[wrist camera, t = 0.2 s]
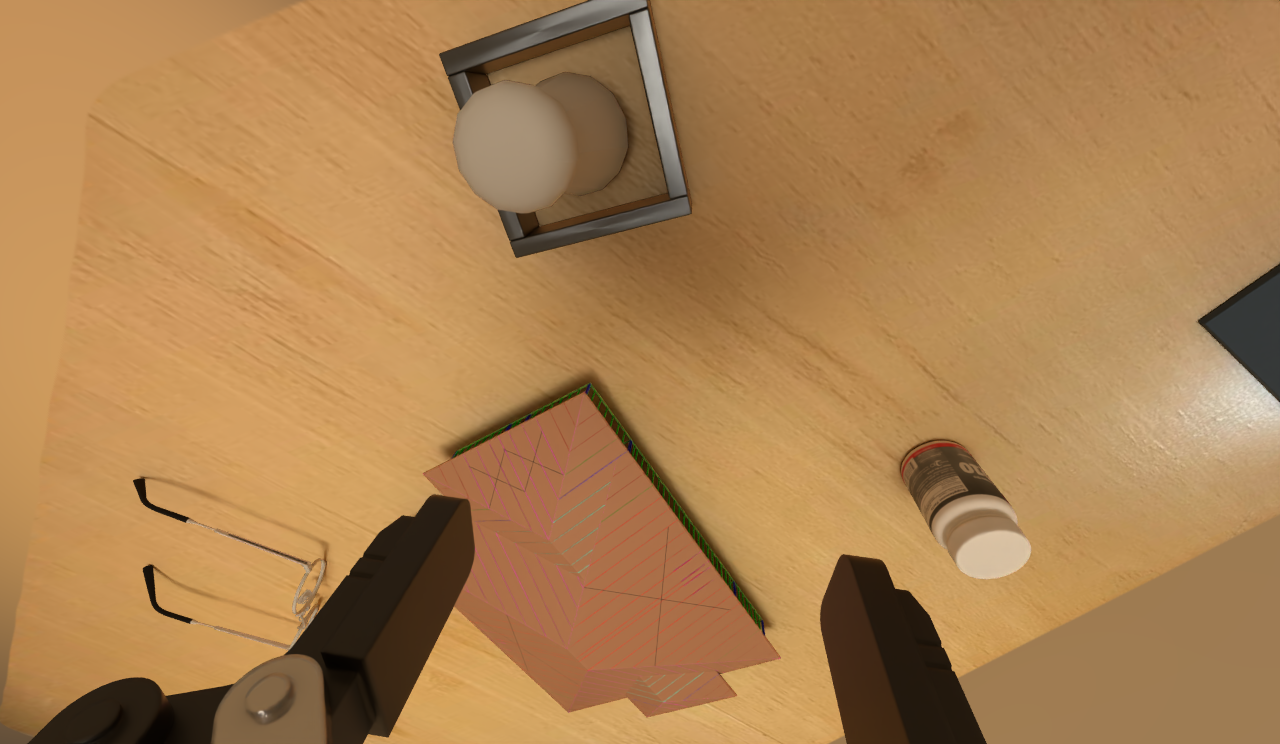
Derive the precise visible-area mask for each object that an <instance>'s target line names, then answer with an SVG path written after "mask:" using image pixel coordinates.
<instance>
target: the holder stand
mask: <svg viewBox="0 0 1280 744" xmlns="http://www.w3.org/2000/svg"><path fill="white" fill-rule="evenodd" d="M629 25H630V27H631V31H632V35H633V40H634V44H635V49H636V53H637V57H638V62H639V66H640V71H641V75H642V80H643V84H644V88H645V93H646V97H647V102H648V106H649V110H650V115H651V119H652V124H653V128H654V133H655V137H656V141H657V146H658V150H659V155H660V159H661V163H662V168H663V172H664V177H665V181H666V186H667V190H668V193H666V194H662V195H658V196H654V197H651V198H647V199H643V200H639V201H635V202H632V203H628V204H624V205H620V206H616V207H612V208H609V209H605V210H601V211H597V212H593V213H590V214H586V215H582V216H578V217H574V218H571V219H567V220H563V221H559V222H555V223H552V224H548V225H544V226H540V227H539V224H538V221H537V219H536V216H535V213H534V212H531V213H516V212H510V211H504V210H498V212H499V214H500V217H501V220H502V222H503V225H504V228H505V230H506V233H507V236H508V238H509V240H510V244H511V246H512V249H513V252H514V254H515V257H516V258H519V257H523V256H527V255H531V254H535V253H539V252H543V251H547V250H551V249H555V248H559V247H563V246H567V245H571V244H575V243H578V242H582V241H586V240H590V239H594V238H598V237H602V236H606V235H610V234H614V233H618V232H622V231H626V230H630V229H634V228H638V227H642V226H646V225H650V224H654V223H658V222H662V221H666V220H670V219H674V218H678V217H682V216H686V215H690V214H692V201H691V196H690V191H689V188H688V181H687V177H686V172H685V167H684V162H683V157H682V152H681V148H680V143H679V138H678V133H677V128H676V124H675V119H674V114H673V109H672V104H671V100H670V95H669V90H668V85H667V80H666V76H665V71H664V66H663V61H662V56H661V51H660V47H659V42H658V37H657V32H656V27H655V23H654V19H653V13H652V8H651V3H650V0H588V1H585V2H583V3H580V4H577V5H574V6H571V7H569V8H566V9H563V10H560V11H557V12H554V13H552V14H549V15H546V16H543V17H540V18H538V19H535V20H532V21H529V22H526V23H524V24H521V25H518V26H515V27H512V28H510V29H507V30H504V31H501V32H498V33H496V34H493V35H490V36H487V37H484V38H481V39H479V40H476V41H473V42H470V43H467V44H465V45H462V46H459V47H456V48H453V49H451V50H448V51H445V52H442V53H440V54H439V56H440V58H441V61H442V64H443V66H444V69H445V72H446V74H447V76H449V77H448V79H449V82H450V84H451V87H452V90H453V92H454V95H455V98H456V100H457V103H458V106H459V108H460V110H461V109H462V108H463V106H464V105H465V104H466V103H467V101H468V100H469V99H470V97H471V96H472V95H473V94H474V93H475V92H477V91H479V90H481V89H484V88H486V87H489V86H490V83H489V80H488V77H487V75H486V74H488V73H490V72H493V71H496V70H499V69H502V68H505V67H508V66H511V65H514V64H517V63H520V62H523V61H526V60H529V59H532V58H535V57H538V56H541V55H544V54H546V53H549V52H552V51H555V50H558V49H561V48H564V47H567V46H570V45H573V44H576V43H579V42H582V41H585V40H588V39H591V38H594V37H597V36H600V35H603V34H605V33H608V32H611V31H614V30H617V29H620V28H623V27H626V26H629Z"/></svg>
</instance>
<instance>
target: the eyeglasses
mask: <svg viewBox="0 0 1280 744" xmlns="http://www.w3.org/2000/svg"><path fill="white" fill-rule="evenodd" d="M133 482H134V485H135V487H136V490H137V492H138V495H139V497H140V500H141V502H142V503H143V504H144V505H145V506H146V507H148V508H150V509H152V510H154V511H156V512H159V513H161V514H164V515H167V516H169V517H172V518H175V519H177V520H180V521H183V522H185V523H192V524H197V525H200V526H203V527H205V528H208V529H211V530H214V531H215V532H216V533H219V534H221V535H224V536H227V537H229V538H232V539H235V540H237V541H240V542H243V543H245V544H248V545H251V546H253V547H256V548H259V549H261V550H264V551H267V552H269V553H272V554H275V555H277V556H280V557H283V558H285V559H288V560H291V561H293V562H296V563H299V564H301V565H302V566H303V567H304V569H305V570H306V573H305V575H304V576H303V578H302V580H301V582H300V584H299V587H298V589H297V592H296V594H295V597H294V601H293V606H292V611H293V613H294V614H296V616H300V617H299V621H300V622H301V620H300V618H301V619H302V623H301V625H300V626H298V629H299V630H298V632H297V634H296V636H295V638H294V640H293V642H292V644H291V646H290V645H286V644H283V643H279V642H275V641H271V640H267V639H264V638H260V637H256V636H252V635H249V634H245V633H241V632H237V631H234V630H230V629H226V628H222V627H219V626H211V625H208V624H204V623H200V622H198V621H196V620H194V619H191V618H188V617H184V616H181V615H178V614H175V613H172V612H168V611H166V610H164V609H162V608H161V607H159V605H158V604H157V602H156V596H155V584H154V573H153V566H152V565H148V566H145V567H144V568H143V573H144V577H145V581H146V585H147V589H148V593H149V597H150V601H151V604H152V606H153V608H154V609H155V610H156V611H157V612H159V613H161V614H163V615H165V616H168V617H171V618H174V619H177V620H180V621H183V622H186V623H189V624H200V625H204V626H208V627H212V628H214V629H215V630H219V631H223V632H226V633H230V634H233V635H237V636H240V637H244V638H247V639H251V640H255V641H258V642H262V643H265V644H269V645H272V646H276V647H279V648H283V649H287V650H288V651H289V650H290V649H291V648H292V646H293V645H294V644H295V642H296V640H297V638H298V637H299V635H300V633H301V631H302V629H304V628H305V627H306V624H307V622H308V619H309V617H310V616H311V614H312V613H313V614H312V617H311V619H310V621H309V623H308V625H307V627H308V626H309V624H310V623H311V622H312V621H313V619H314V617H315V614H316V612H317V611H318V609H319V608H318V606H319V605H318V604H315V605H314V606H313V607H312V609H311V610H310V612H309V613H308V614H307V616H306V617H305V618H303V615H305V612H306V611H307V610H309V609H310V604H311V602H312V601H313V599H314V597H315V595H316V593H317V591H318V589H319V586H320V584H321V581H322V579H323V575H324V571H325V566H326V561H324V559H320V558H319V559H317V560H315V561H314V562H313V563H312V564H311V562H308V561H305V560H303V559H300V558H297V557H294V556H292V555H289V554H286V553H283V552H281V551H278V550H275V549H272V548H269V547H267V546H264V545H261V544H258V543H256V542H253V541H250V540H247V539H245V538H242V537H239V536H236V535H234V534H231V533H228V532H225V531H223V530H220V529H214V528H211V527H209V526H206V525H203V524H200V523H197V522H196V521H194V520H192V519H190V518H188V517H186V516H183V515H180V514H177V513H174V512H171V511H168V510H166V509H163V508H160V507H157V506H155V505H153V504H151V503H150V502H149V501H148V500H147V498H146V487H145V479H144V478H140V479H135V480H133ZM320 560H321V571H320V575H319V578H318V581H317V584H316V586H315V588H314V590H313V592H311V591H310V590H308V589H307V590H306V591H305V592H304V593H303V594H302V595H301V596H300V597H299V599H298V596H299V593H300V591H301V588H302V586H303V584H304V582H305V580H306V578H307V576H308V574H309V573H310V572H311V571H312V568H313V567H314V566H315V564H316V563H317V562H319V561H320ZM308 597H309V598H308ZM307 598H308V599H307ZM306 599H307V600H308V601H307V600H306ZM305 600H306V601H307V602H306V601H305ZM304 601H305V602H306V604H305V605H304V607H303V608H302V609H301V610H300V611H299V612H296V604H297V602H298V603H299V604H301V603H302V604H304V603H305V602H304ZM303 602H304V603H303ZM313 611H314V612H313ZM307 627H306V628H307ZM305 630H306V629H305Z"/></svg>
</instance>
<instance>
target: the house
mask: <svg viewBox="0 0 1280 744" xmlns="http://www.w3.org/2000/svg"><path fill="white" fill-rule="evenodd" d="M585 387H587V389H586V391H584V392H582V393H580V390H581V389H583V388H585ZM590 387H592V389H593V390H594V393H593V396H592V399H590V398H589V397H588V393H589V390H590ZM577 391H578V393H577V395H576V396H574V397H572V398H570V397H571V395H572V394H573V393H575V392H577ZM579 393H580V394H579ZM595 393H596V394H597V395H598V397H599V398H600V402H599V405H598V408H597V407H596V406H595V405H594V403H593V402H592V401H593V398H594V395H595ZM567 396H569V397H568V399H567V400H566V401H565V402H563V403H561V402H562V400H563V398H565V397H567ZM559 400H560V402H559V404H558V405H557V406H555V407H553V405H554V403H555V402H557V401H559ZM601 401H602V402H603V404H604V405H605V406H606V411H605V414H604V417H603V416H602V414H601V413H600V412H599V407H600V404H601ZM551 404H552V405H551ZM549 405H551V407H550V409H549V410H547V411H545V412H544V410H545V408H546V407H547V406H549ZM552 407H553V408H552ZM542 409H543V410H542ZM540 410H542V412H541V414H539V415H537V416H535V415H536V413H537V412H538V411H540ZM607 410H608V411H609V412H610V413H611V415H612V419H611V423H610V425H609V424H608V422H607V421H606V420H605V416H606V413H607ZM532 414H534V415H533V417H532ZM526 417H527V418H526ZM530 417H531V419H530ZM524 418H526V419H525V421H524V422H523V423H521V424H519V423H520V421H521V420H522V419H524ZM613 418H614V419H615V420H616V422H617V423H618V427H617V431H616V433H615V432H614V431H613V429H612V428H611V425H612V422H613ZM517 422H518V423H517ZM516 423H517V425H516V426H515V424H516ZM512 424H513V425H512ZM511 426H512V428H511ZM514 426H515V427H514ZM619 426H620V427H621V428H622V430H623V431H624V434H623V439H622V441H621V440H620V439H619V437H618V436H617V434H618V430H619ZM506 427H507V429H506V431H505V432H503V433H501V431H502V430H503V429H504V428H506ZM510 428H511V429H510ZM498 431H499V433H498V435H497V436H495V437H493V435H494V434H495V433H496V432H498ZM500 433H501V434H500ZM625 434H626V435H627V437H628V438H629V439H630V440H628V441H626V442H624V437H625ZM489 436H491V437H490V439H489V440H488V441H486V442H484V441H485V440H486V438H487V437H489ZM492 437H493V438H492ZM483 439H484V440H483ZM481 440H483V441H482V443H481V444H480V445H478V446H477V444H478V443H479V441H481ZM623 442H624V443H623ZM628 442H629V445H628V450H627V448H626V447H625V445H624V444H626V443H628ZM475 443H476V444H475ZM473 444H475V446H474V447H473V448H472V449H470V450H469V448H470V447H471V445H473ZM632 444H633V445H634V447H633V453H632V455H631V454H630V452H631V446H632ZM467 447H468V448H467ZM465 448H467V450H466V451H465V452H464V453H462V452H463V450H464V449H465ZM635 448H636V449H637V451H636V457H635V459H634V458H633V456H634V451H635ZM459 451H460V452H459ZM638 452H639V453H640V455H641V456H642V462H641V467H640V466H639V464H638V463H637V462H636V461H637V455H638ZM458 453H459V454H458ZM461 453H462V454H461ZM457 454H458V456H457ZM643 459H644V460H645V461H646V463H647V464H648V466H647V473H646V474H645V473H644V471H643V470H642V466H643ZM649 467H650V468H651V470H652V471H653V476H652V482H651V481H650V479H649V478H648V470H649ZM654 474H655V475H656V476H657V478H658V486H657V489H656V488H655V486H654V485H653V481H654ZM423 475H424V476H425V477H426V478H427V479H428V480H429V481H430V482H431V483H432V484H433V485H434V486H435V487H436V488H437V489H438V490H439V491H440V492H441V493H442V494H443V495H444V496H449V497H456V498H463V499H468V500H469V502H470V507H471V516H472V525H473V534H474V543H475V555H474V561H473V565H472V569H471V572H470V574H469V577H468V579H467V581H466V583H465V585H464V587H463V589H462V591H461V593H460V595H459V597H458V599H457V601H456V603H455V605H454V607H455V608H457V609H458V610H459V611H460V612H461V613H462V614H463V615H464V616H465V617H466V618H467V619H468V620H469V621H471V622H472V623H473V624H474V625H475V626H476V627H477V628H478V629H479V630H480V631H481V632H482V633H483V634H485V635H486V636H487V637H488V638H489V639H490V640H491V641H492V642H493V643H494V644H495V645H496V646H497V647H498V648H500V649H501V650H502V651H503V652H504V653H505V654H506V655H507V656H508V657H509V658H510V659H511V660H512V661H514V662H515V663H516V664H517V665H518V666H519V667H520V668H521V669H522V670H523V671H524V672H525V673H526V674H528V675H529V676H530V677H531V678H532V679H533V680H534V681H535V682H536V683H537V684H538V685H539V686H540V687H542V688H543V689H544V690H545V691H546V692H547V693H548V694H549V695H550V696H551V697H552V698H553V699H554V700H556V701H557V702H558V703H559V704H560V705H561V706H562V707H563V708H564V709H565V710H566V711H567V712H572V711H576V710H580V709H584V708H588V707H592V706H596V705H600V704H604V703H608V702H612V701H615V700H619V699H623V698H627V697H628V698H629V699H630V701H631V702H632V703H633V704H634V705H635V706H636V707H637V708H638V709H639V710H640V711H641V712H642V713H643V714H644V715H645V716H646V717H651V716H655V715H659V714H663V713H668V712H672V711H676V710H680V709H685V708H689V707H693V706H697V705H702V704H706V703H710V702H714V701H718V700H723V699H727V698H731V697H735V696H737V694H736V693H735V692H734V691H733V689H732V688H731V687H730V686H729V685H728V683H727V682H726V681H725V680H724V679H723V677H722V676H721V675H720V674H722V673H725V672H729V671H733V670H737V669H741V668H745V667H749V666H753V665H757V664H761V663H765V662H769V661H773V660H776V659H780V656H779V654H778V653H777V652H776V650H775V649H774V648H773V646H772V645H771V643H770V642H769V641H768V639H767V638H766V637H765V630H764V623H763V620H762V618H761V617H760V616H759V614H758V613H757V611H756V610H755V609H754V607H753V606H752V605H751V603H750V602H749V600H748V599H747V598H746V596H745V595H744V594H743V592H742V591H741V589H740V588H739V587H738V585H737V584H736V582H735V581H734V580H733V578H732V577H731V576H730V574H729V573H728V571H727V570H726V569H725V567H724V566H723V565H722V563H721V562H720V560H719V559H718V558H717V556H716V555H715V554H714V552H713V551H712V549H711V548H710V547H709V545H708V544H707V543H706V541H705V540H704V538H703V537H702V536H701V534H700V533H699V532H698V530H697V529H696V527H695V526H694V525H693V523H692V522H691V521H690V519H689V518H688V516H687V515H686V514H685V512H684V511H683V509H682V508H681V507H680V505H679V504H678V503H677V501H676V500H675V498H674V497H673V496H672V494H671V493H670V492H669V490H668V489H667V487H666V486H665V485H664V483H663V482H662V481H661V479H660V478H659V476H658V475H657V474H656V472H655V471H654V470H653V468H652V467H651V465H650V464H649V463H648V461H647V460H646V459H645V457H644V456H643V454H642V453H641V452H640V450H639V449H638V448H637V446H636V445H635V443H634V442H633V441H632V439H631V438H630V436H629V435H628V434H627V432H626V431H625V430H624V428H623V427H622V425H621V424H620V423H619V421H618V420H617V419H616V417H615V416H614V414H613V413H612V412H611V410H610V409H609V408H608V406H607V405H606V403H605V402H604V401H603V399H602V398H601V397H600V395H599V394H598V392H597V391H596V390H595V388H594V387H593V386H592V384H591V383H589V384H587V385H585V386H583V387H581V388H579V389H577V390H575V391H573V392H571V393H569V394H567V395H565V396H563V397H561V398H559V399H557V400H555V401H553V402H551V403H549V404H547V405H546V406H544V407H542V408H540V409H538V410H536V411H534V412H532V413H530V414H528V415H526V416H524V417H522V418H520V419H518V420H516V421H514V422H512V423H510V424H508V425H506V426H504V427H503V428H501V429H499V430H497V431H495V432H493V433H491V434H489V435H487V436H485V437H483V438H481V439H479V440H477V441H475V442H473V443H471V444H469V445H467V446H465V447H463V448H461V449H459V450H458V451H456V453H455V454H454V456H453V457H452V458H451V459H450V460H448V461H446V462H444V463H442V464H440V465H438V466H436V467H434V468H432V469H430V470H428V471H426V472H424V473H423ZM660 482H661V483H662V485H663V497H662V496H661V494H660V493H659V483H660ZM665 489H666V490H667V492H668V504H667V502H666V501H665V500H664V492H665ZM670 496H671V497H672V498H673V500H674V501H673V511H672V509H671V508H670V506H669V502H670ZM675 503H676V504H677V505H678V517H677V516H676V515H675V513H674V512H675ZM680 509H681V511H682V512H683V524H682V523H681V521H680ZM685 516H686V518H687V519H688V531H687V530H686V528H685ZM690 523H691V525H692V526H693V538H692V536H691V535H690ZM695 530H696V531H697V533H698V544H697V543H696V542H695V540H694V537H695ZM699 536H700V537H701V538H702V550H701V549H700V547H699ZM704 542H705V544H706V545H707V557H706V555H705V554H704ZM708 548H709V549H710V551H711V557H712V563H711V562H710V561H709V550H708ZM713 555H714V556H715V558H716V569H715V568H714V566H713ZM717 560H718V562H719V563H720V571H721V576H720V574H719V573H718V562H717ZM722 567H723V569H724V570H725V581H724V580H723V578H722ZM726 573H727V574H728V575H729V583H727V578H726ZM730 578H731V579H730ZM731 580H732V581H733V582H731ZM731 583H733V592H734V593H733V592H732V591H731ZM728 584H729V587H730V588H729V587H728ZM736 586H737V588H738V599H739V600H738V599H737V597H736ZM739 590H740V592H741V593H742V603H743V605H742V604H741V603H740V593H739ZM743 596H744V597H745V599H746V607H747V611H746V610H745V608H744V598H743ZM747 601H748V603H749V604H750V612H751V616H750V615H749V612H748V603H747ZM751 607H752V608H753V610H754V618H755V622H754V620H753V617H752V608H751ZM755 612H756V614H757V616H758V621H757V622H756V614H755ZM759 618H760V619H761V621H760V620H759ZM760 622H761V624H762V631H761V628H760ZM757 623H758V624H759V627H758V626H757ZM762 632H763V633H762Z"/></svg>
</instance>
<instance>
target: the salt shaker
mask: <svg viewBox="0 0 1280 744" xmlns="http://www.w3.org/2000/svg"><path fill="white" fill-rule="evenodd" d="M453 145H454V150H455V154H456V159H457V164H458V168H459V171H460V173H461V174H462V176H463V177H464V178H465V180H466V181H467V183H468V184H469V186H470V187H471V189H472V190H473V191H474V193H475V194H476V195H477V196H479V197H480V198H482V199H483V200H485V201H486V202H487V203H489V204H490V205H492V206H493V207H495V208H496V209H498V210H504V211H510V212H516V213H531V212H534V211H537V210H540V209H544V208H547V207H550V206H552V205H553V204H554V203H555V202H556V201H557V200H558V199H559V198H560V197H561V195H562V194H563V193H565V194H572V195H578V196H582V195H585V194H588V193H592V192H595V191H598V190H602V189H603V188H604V187H605V186H606V185H607V184H608V183H609V182H610V181H611V180H612V179H613V178H614V177H615V176H616V175H617V174H618V173H619V172H620V169H621V166H622V164H623V161H624V158H625V155H626V152H627V149H628V136H627V125H626V118H625V116H624V114H623V112H622V110H621V108H620V106H619V104H618V102H617V100H616V99H615V97H614V95H613V93H612V92H610V91H609V90H608V89H607V88H605V87H604V86H603V85H601V84H600V83H599V82H597V81H596V80H595V79H593V78H592V77H591V76H585V75H580V74H574V73H568V72H563V73H561V74H558V75H556V76H553V77H551V78H548V79H545V80H543V81H541V82H540V83H538V84H537V85H536V86H534V85H530V84H524V83H519V82H513V81H508V80H503V81H501V82H498V83H496V84H493V85H491V86H489V87H486V88H484V89H481V90H479V91H477V92H475V93H474V94H473V95H472V96H471V97H470V99H469V100H468V101H467V103H466V104H465V105H464V106H463V108H462V109H461V110H460V111H459V113H458V114H457V120H456V126H455V132H454V138H453Z"/></svg>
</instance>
